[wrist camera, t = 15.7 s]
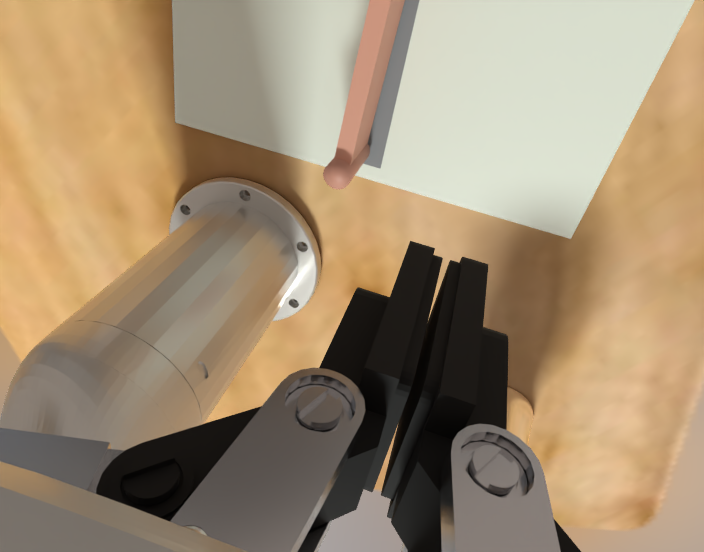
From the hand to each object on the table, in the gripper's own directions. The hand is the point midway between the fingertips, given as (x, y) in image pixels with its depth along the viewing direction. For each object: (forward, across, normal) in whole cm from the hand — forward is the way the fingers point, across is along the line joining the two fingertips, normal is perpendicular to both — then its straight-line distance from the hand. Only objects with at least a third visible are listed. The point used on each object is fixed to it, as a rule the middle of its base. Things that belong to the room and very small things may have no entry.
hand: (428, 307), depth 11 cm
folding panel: (+22, +6, -1) cm, 22 cm away
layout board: (+22, +6, -1) cm, 23 cm away
